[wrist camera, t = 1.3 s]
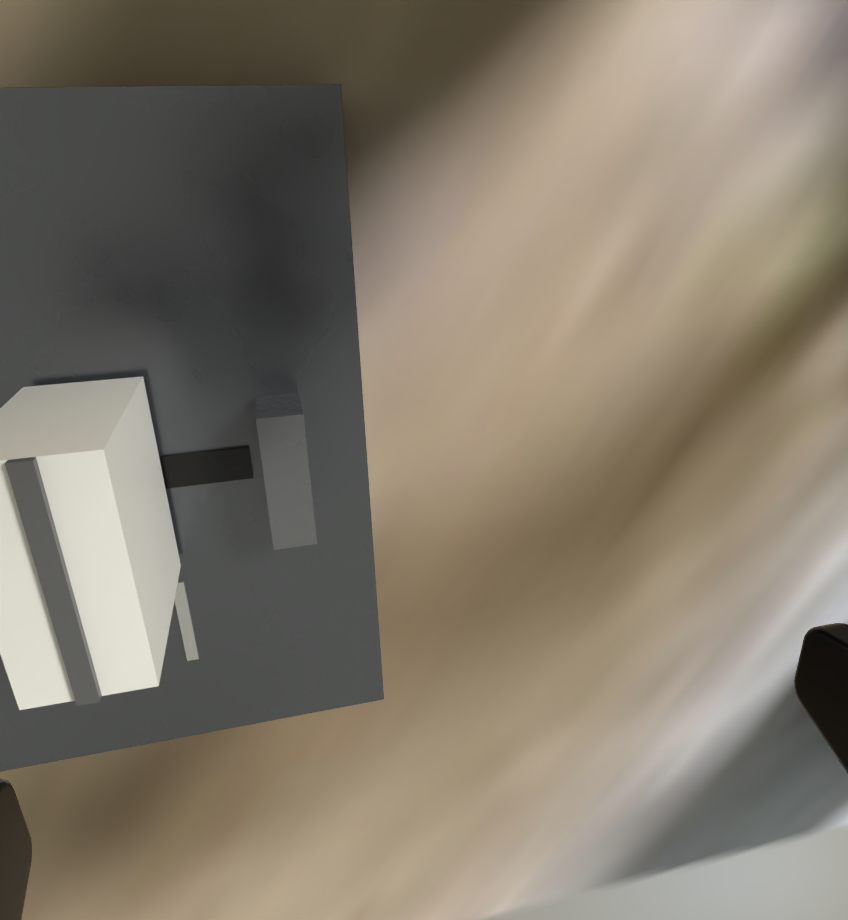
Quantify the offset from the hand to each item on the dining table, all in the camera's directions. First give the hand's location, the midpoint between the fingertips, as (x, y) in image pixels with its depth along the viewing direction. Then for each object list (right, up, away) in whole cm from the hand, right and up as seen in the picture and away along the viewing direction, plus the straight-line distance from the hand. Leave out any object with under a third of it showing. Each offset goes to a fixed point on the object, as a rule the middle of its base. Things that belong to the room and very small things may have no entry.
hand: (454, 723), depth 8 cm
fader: (-8, +2, +8) cm, 11 cm away
